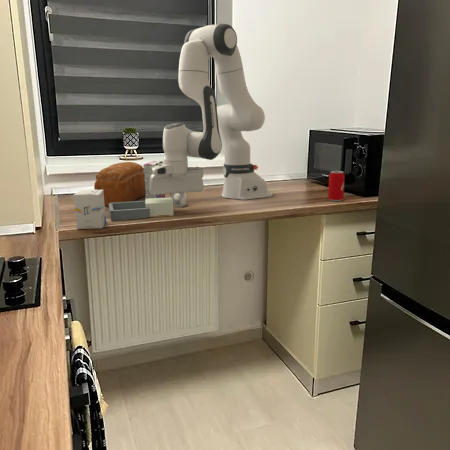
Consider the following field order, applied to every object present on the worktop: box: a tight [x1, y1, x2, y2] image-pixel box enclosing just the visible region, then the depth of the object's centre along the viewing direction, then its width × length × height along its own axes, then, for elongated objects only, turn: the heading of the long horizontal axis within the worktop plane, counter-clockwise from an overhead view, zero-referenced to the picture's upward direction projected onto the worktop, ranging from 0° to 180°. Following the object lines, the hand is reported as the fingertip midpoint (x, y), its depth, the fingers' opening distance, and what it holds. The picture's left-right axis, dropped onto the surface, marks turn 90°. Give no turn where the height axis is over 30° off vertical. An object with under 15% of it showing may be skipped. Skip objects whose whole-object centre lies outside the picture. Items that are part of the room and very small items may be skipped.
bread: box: [93, 161, 146, 208], centre depth 190 cm, size 14×26×16 cm, turn 169°
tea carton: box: [144, 197, 175, 217], centre depth 168 cm, size 10×9×5 cm
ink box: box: [73, 189, 107, 230], centre depth 151 cm, size 9×8×12 cm
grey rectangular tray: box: [108, 200, 151, 222], centre depth 166 cm, size 14×14×4 cm
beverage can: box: [327, 170, 346, 202], centre depth 186 cm, size 6×6×12 cm
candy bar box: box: [143, 160, 166, 199], centre depth 186 cm, size 11×5×16 cm, turn 168°
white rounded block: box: [172, 192, 187, 208], centre depth 181 cm, size 6×6×4 cm
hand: (177, 204), depth 170 cm, fingers closed
